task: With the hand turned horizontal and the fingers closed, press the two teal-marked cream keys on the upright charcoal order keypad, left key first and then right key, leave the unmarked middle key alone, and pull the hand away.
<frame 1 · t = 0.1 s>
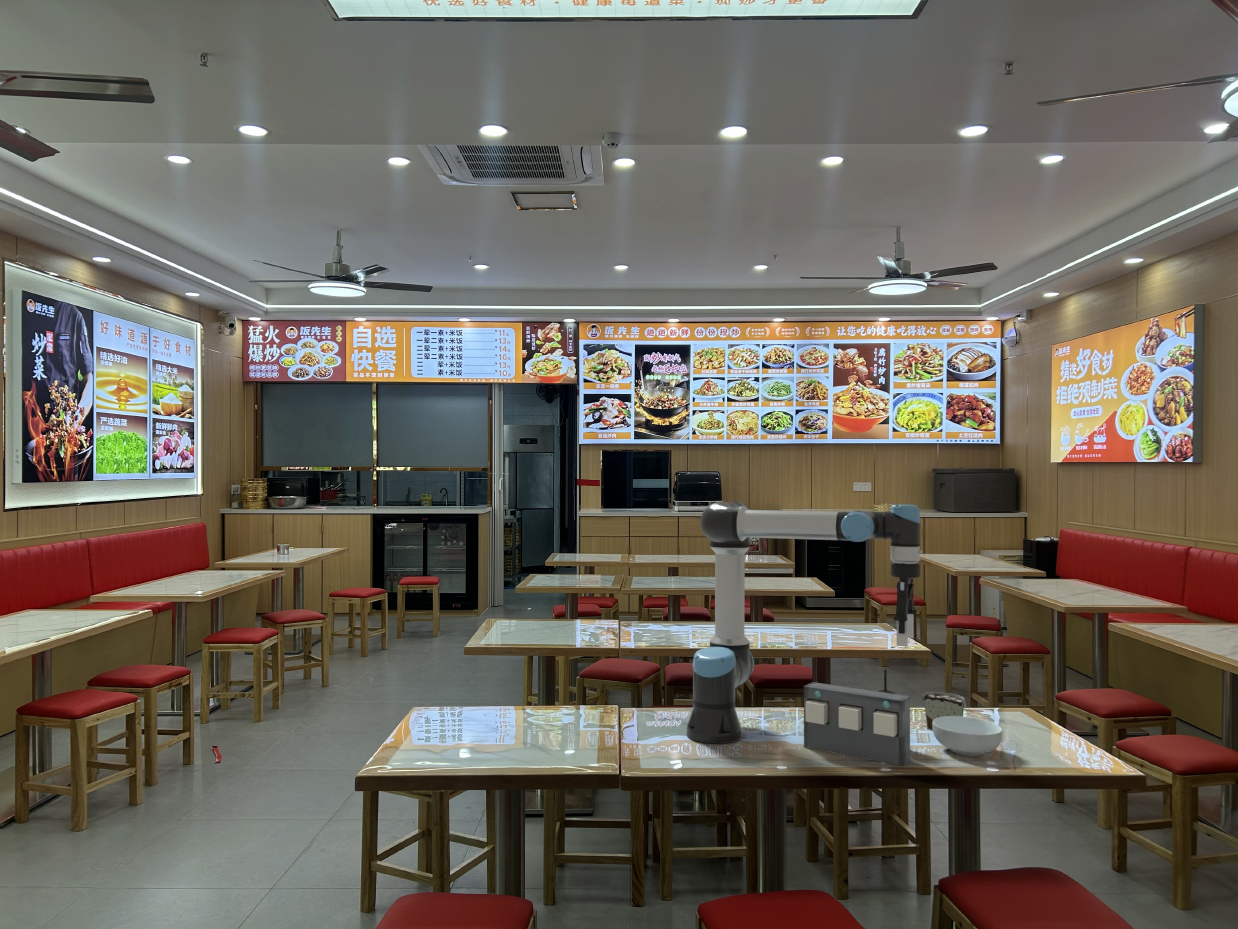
hand: (905, 641, 221), 28 cm above the table, tool pointing down, fingers open, 13 cm apart
key middle: (850, 717, 212), point 10 cm above the table, slide at 0.0 cm
mint chip dessert: (947, 730, 237), on the table
keypad: (855, 753, 215), on the table
cereal bowl: (967, 752, 217), on the table
key left: (817, 711, 218), point 10 cm above the table, slide at 0.0 cm
key right: (886, 723, 207), point 10 cm above the table, slide at 0.0 cm
drinking cup: (885, 745, 222), on the table
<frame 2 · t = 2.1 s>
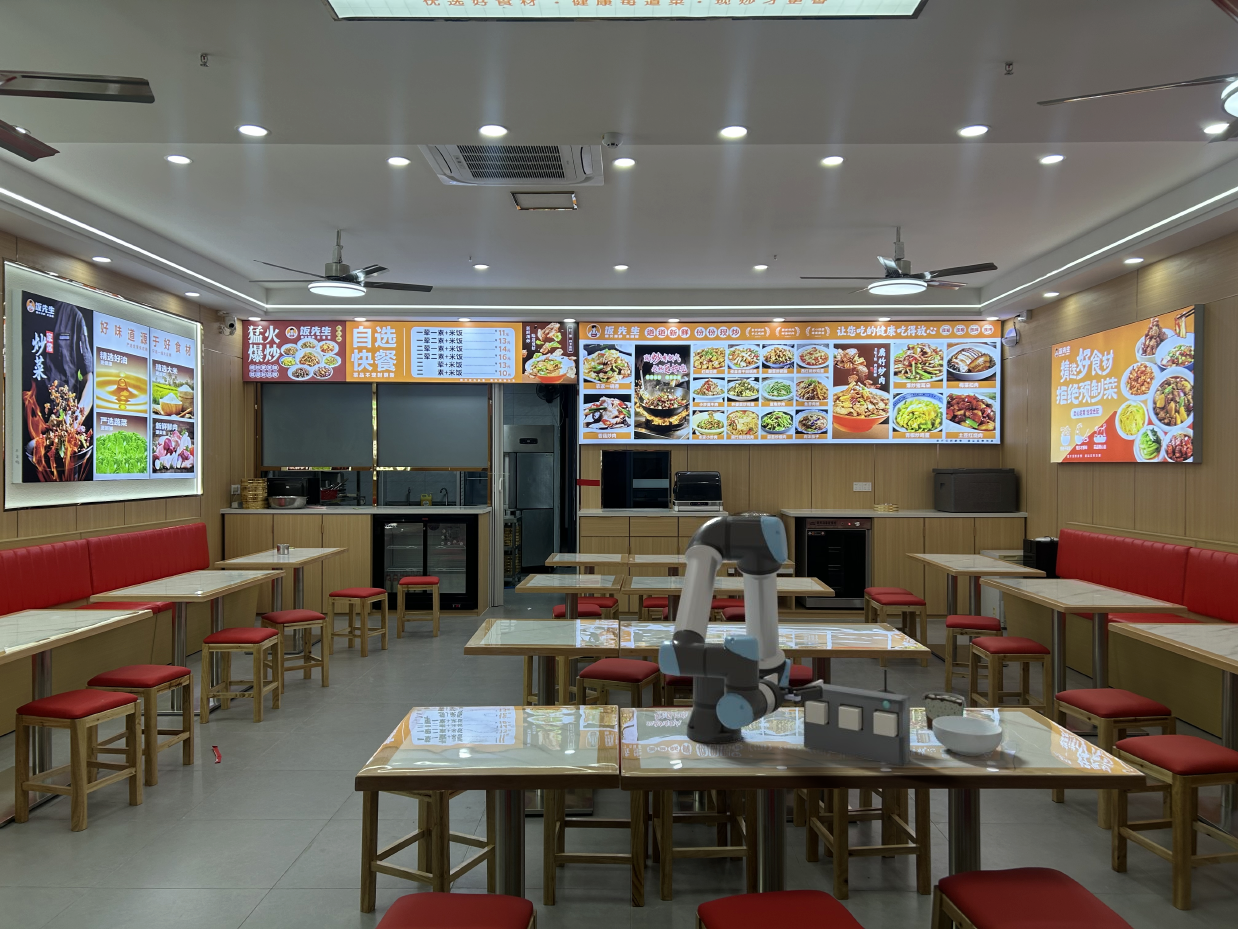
hand: (798, 682, 208), 20 cm above the table, tool horizontal, fingers open, 11 cm apart
nothing on the table moved.
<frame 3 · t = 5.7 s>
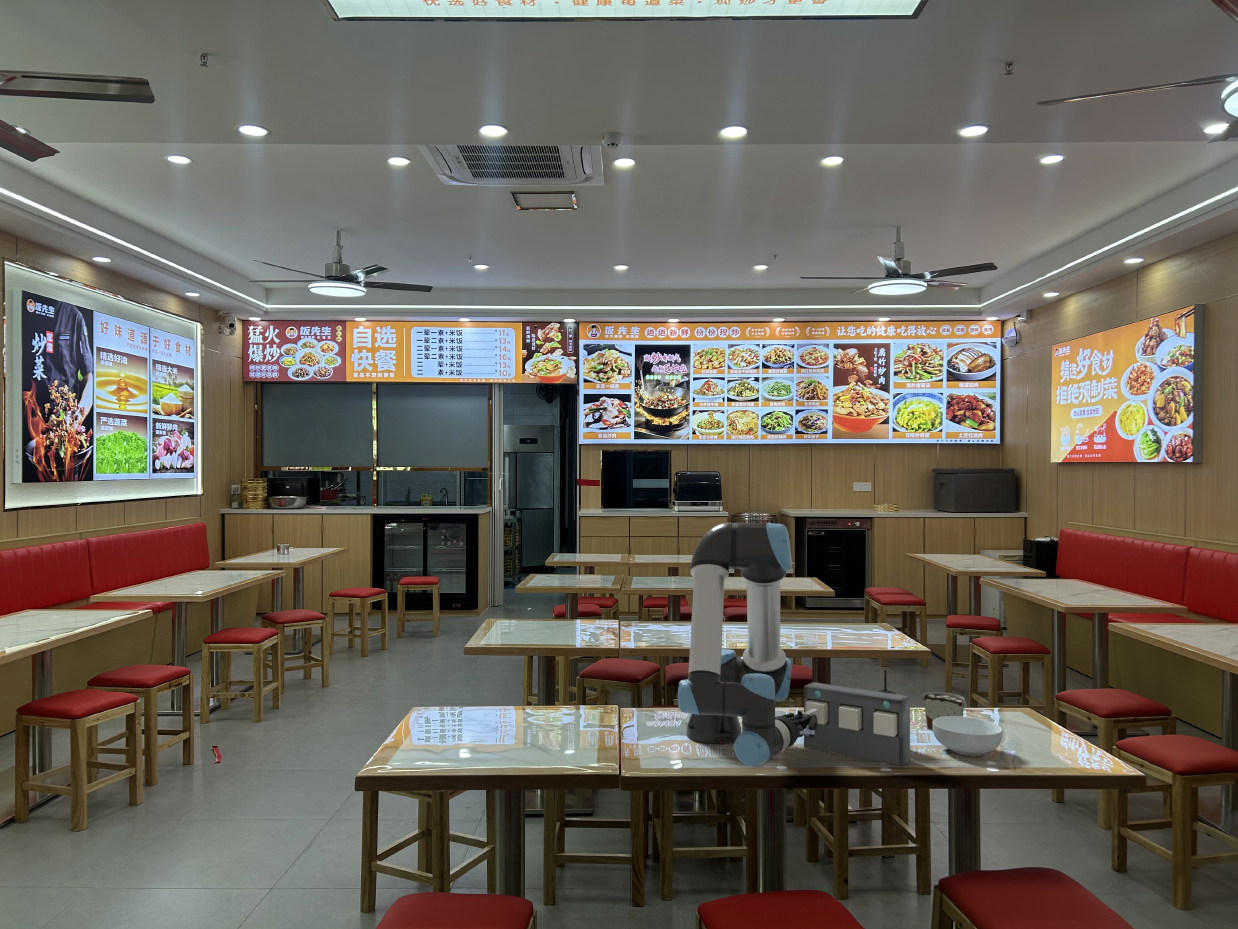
hand: (815, 713, 216), 10 cm above the table, tool horizontal, fingers closed
key left: (817, 711, 218), point 10 cm above the table, slide at 0.1 cm, touching gripper
everything else where it was.
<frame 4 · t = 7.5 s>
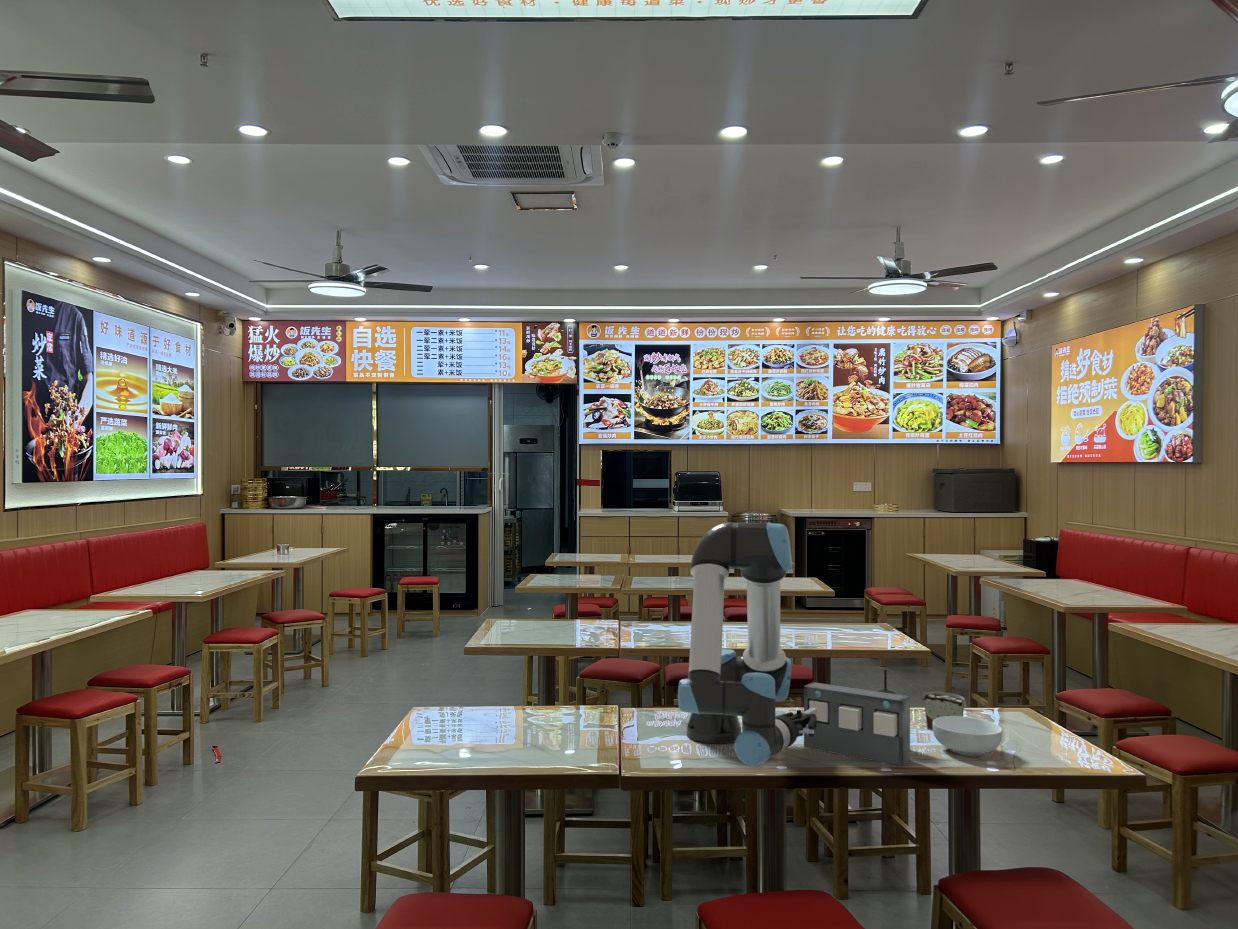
hand: (814, 713, 215), 10 cm above the table, tool horizontal, fingers closed
key left: (821, 709, 220), point 10 cm above the table, slide at 2.6 cm
everything else where it was.
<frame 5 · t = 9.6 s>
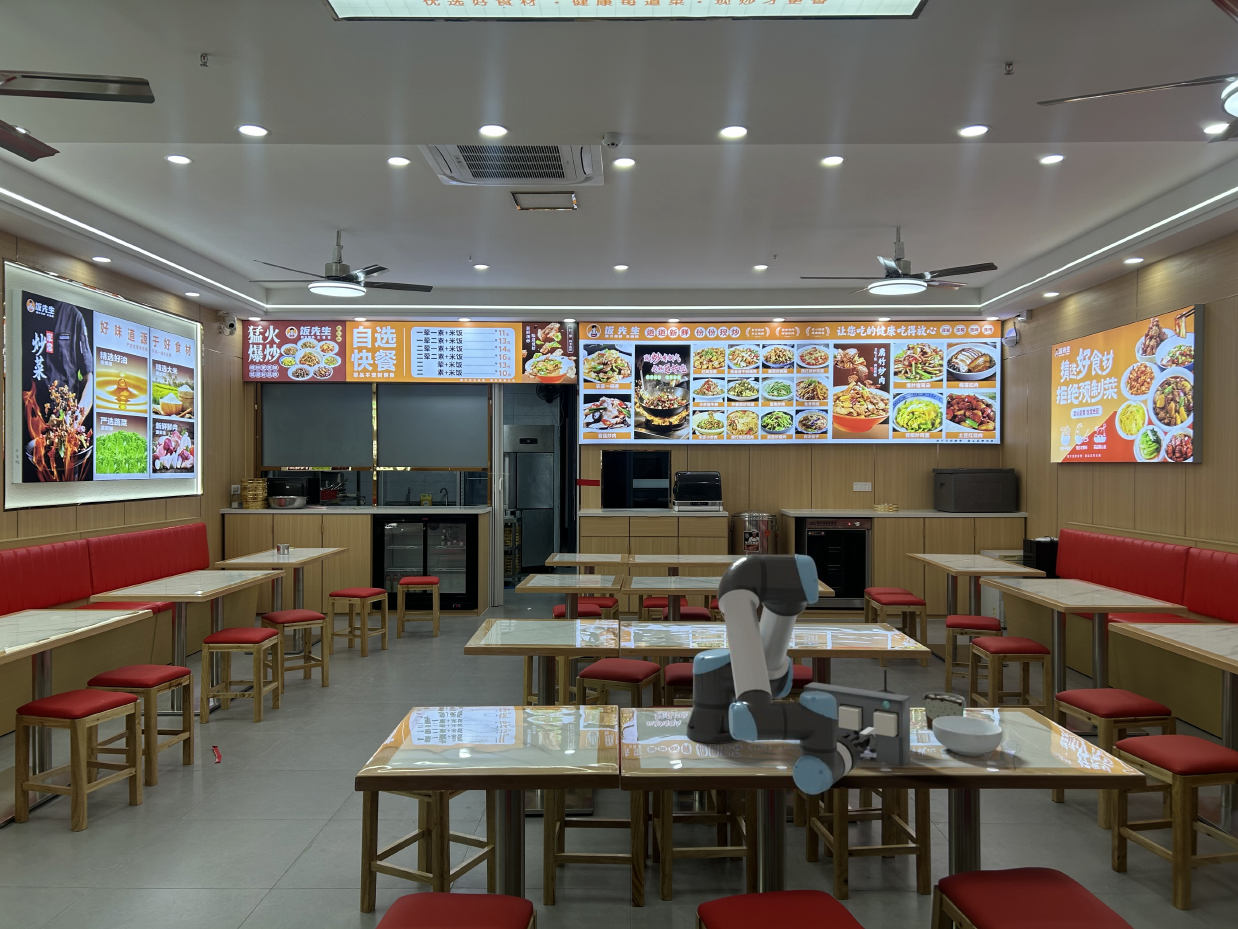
hand: (871, 733, 198), 10 cm above the table, tool horizontal, fingers closed
nothing on the table moved.
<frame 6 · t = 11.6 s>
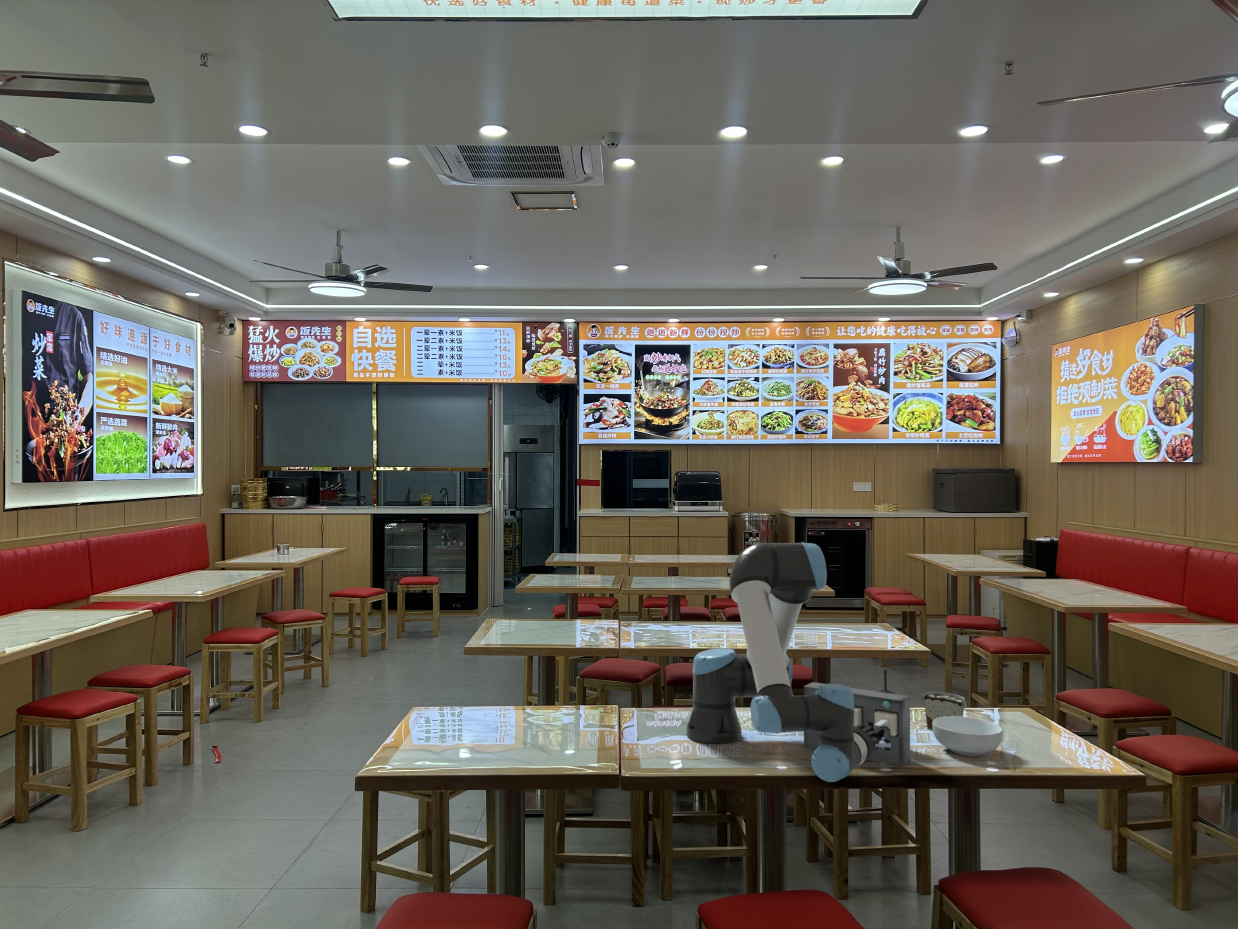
hand: (885, 725, 206), 10 cm above the table, tool horizontal, fingers closed
key right: (887, 722, 208), point 10 cm above the table, slide at 0.9 cm, touching gripper
everything else where it was.
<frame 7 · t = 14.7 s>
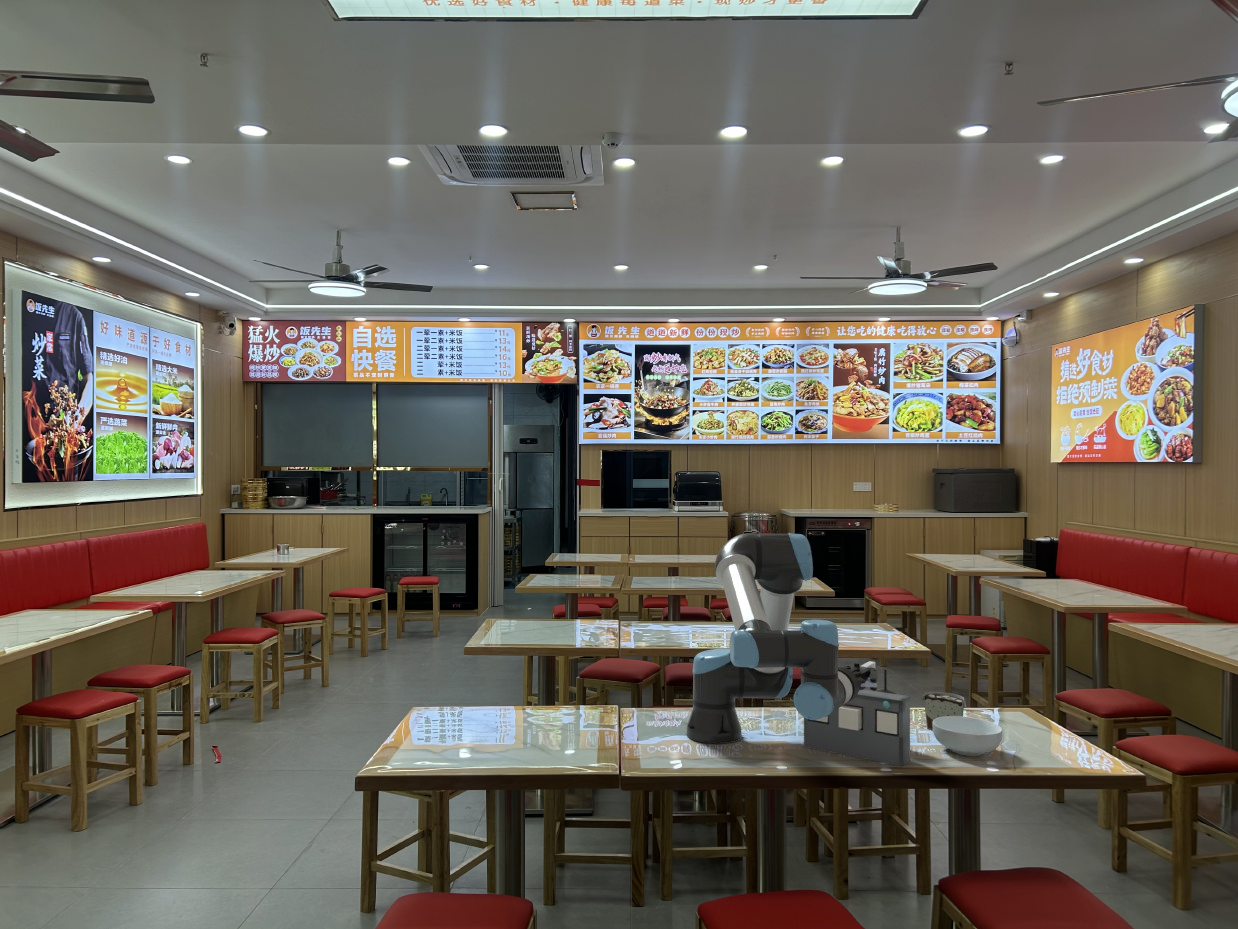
hand: (872, 667, 198), 26 cm above the table, tool horizontal, fingers closed
key right: (889, 720, 209), point 10 cm above the table, slide at 2.6 cm
everything else where it was.
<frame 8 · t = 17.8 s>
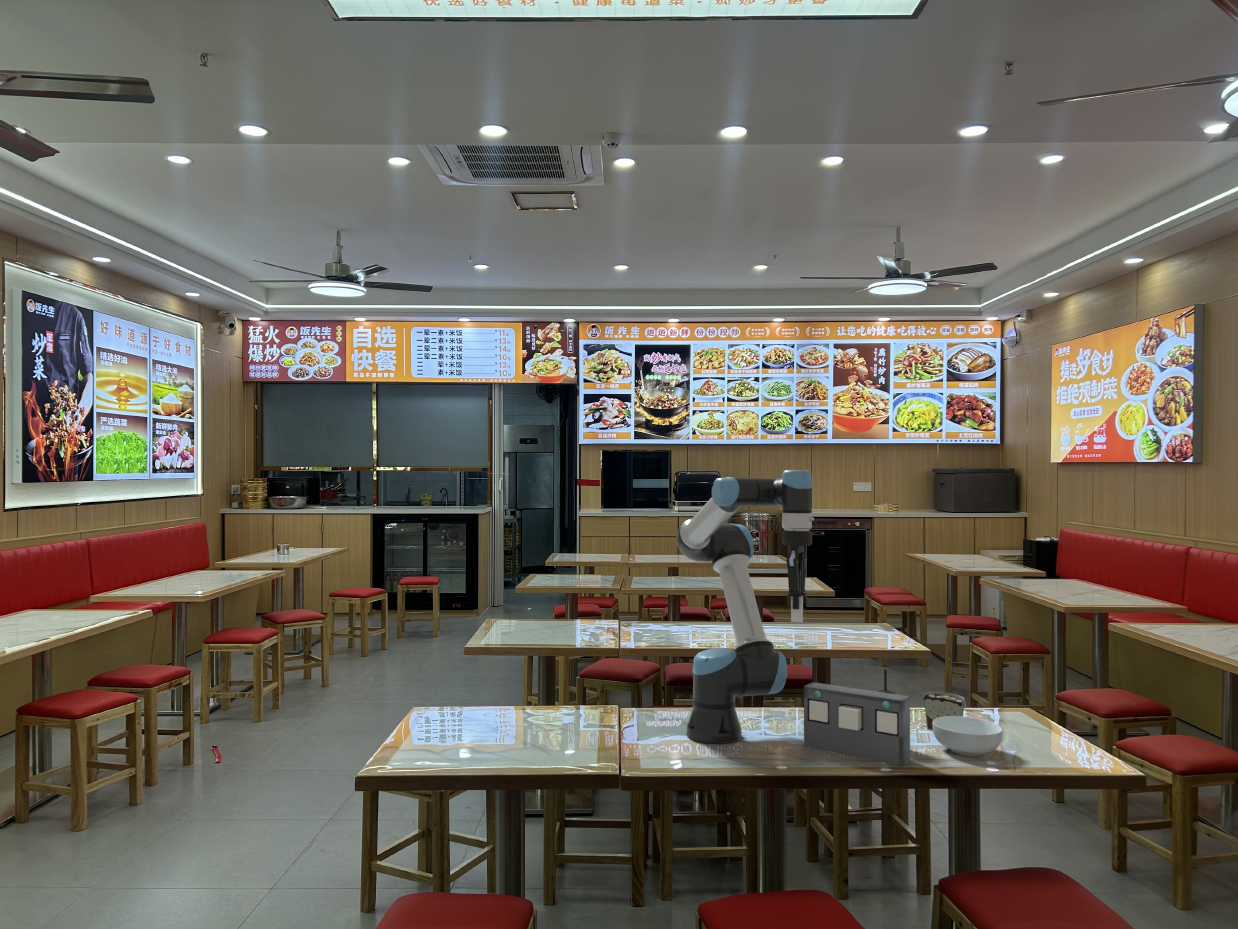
hand: (796, 621, 213), 34 cm above the table, tool pointing down, fingers closed
nothing on the table moved.
at the end: key left slide at 2.6 cm; key right slide at 2.6 cm; key middle slide at 0.0 cm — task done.
